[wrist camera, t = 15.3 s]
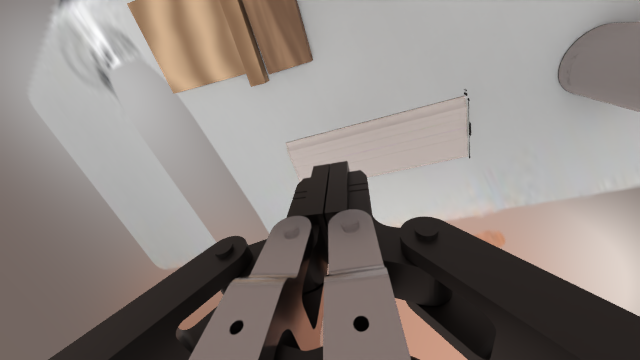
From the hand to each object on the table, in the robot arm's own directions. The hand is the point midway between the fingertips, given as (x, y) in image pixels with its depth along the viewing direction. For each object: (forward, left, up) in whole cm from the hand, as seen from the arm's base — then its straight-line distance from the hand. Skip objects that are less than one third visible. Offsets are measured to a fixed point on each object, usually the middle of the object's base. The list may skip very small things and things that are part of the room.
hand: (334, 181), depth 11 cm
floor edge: (+21, -10, -33) cm, 41 cm away
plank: (+5, -10, -33) cm, 34 cm away
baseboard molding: (-3, +13, -34) cm, 37 cm away
